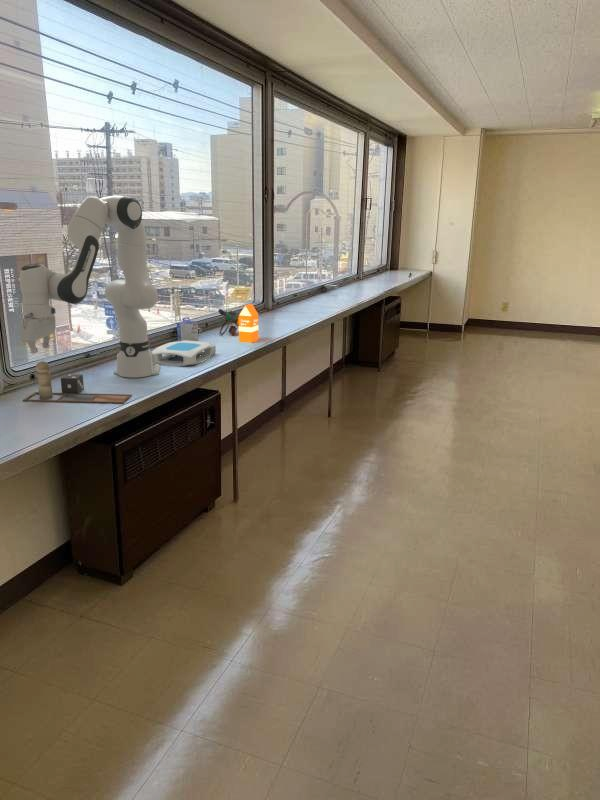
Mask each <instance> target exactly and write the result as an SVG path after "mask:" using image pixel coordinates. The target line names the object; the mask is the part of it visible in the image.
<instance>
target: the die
mask: <svg viewBox="0 0 600 800" xmlns="http://www.w3.org/2000/svg"><path fill="white" fill-rule="evenodd" d="M83 376H84V375H83V374H79V373H78V374H74V373H73V374H70V373H69V374H68V373H66V374H65V375H63V376H62V377H60V385H61V393H81V392H82V390H83V391H84V390H85V388H84V387H85V386H84V377H83Z"/></svg>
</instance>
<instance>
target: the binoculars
mask: <svg viewBox="0 0 600 800" xmlns="http://www.w3.org/2000/svg"><path fill="white" fill-rule="evenodd" d="M217 311H218V313H219V315H221V316H223V317H224V320H225V321H224V322H223V323H222V325H221V328H220V330H219V335H220V334H221V335H222V336H223V335H225V333H226V332H227V331H228V333H229V334H230V335H231V336H233V337H234V336H235V335H236V333H237V331H238V329H239V316H236V315H234V314H233V311H232V310H230V311H224V310H223V309H222V308H219V309H218V310H217ZM226 324H227V326H226V328H225V329H224V331H223V328H224V327H225V325H226ZM232 324H235V325H232ZM221 335H220V336H221Z"/></svg>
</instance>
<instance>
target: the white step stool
mask: <svg viewBox="0 0 600 800" xmlns="http://www.w3.org/2000/svg"><path fill="white" fill-rule="evenodd" d="M151 352H152V353H153V354H154V361H155V364H159V365H160V364H167V365H166V366H171V365H179V366H178V367H187V365H188V366H193V365H194V364H195V365H198V364H197V363H199V362H201V361H203V360H205V359H207V358H209V357H210V358H212V357H211V356H214V354H215V353H216V345H215V344H212V343H211V342H207V341H199V340H198V341H187V340H185V341H178V340H177V341H173V342H167V343H165V344H162V345H160V346H157V347H156V348H155V349H153V350H152V351H151ZM176 355H177V356H178V357H182V359H183V360H182V361H181V360H170V359H172V358H174V357H173V356H175V357H177V356H176ZM196 355H201V356H196ZM171 357H172V358H171ZM169 358H170V359H169ZM210 358H209V359H210ZM167 359H168V360H167ZM207 360H208V359H207ZM205 361H206V360H205ZM203 362H204V361H203ZM201 363H202V362H201ZM199 364H200V363H199Z"/></svg>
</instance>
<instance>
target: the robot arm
mask: <svg viewBox="0 0 600 800" xmlns="http://www.w3.org/2000/svg"><path fill="white" fill-rule="evenodd" d="M142 219H143V210H142V207H141V204H140V202H139V201H138V200H137V198H134V197H132V196H129V195H127V196H126V195H109V196H99V197H97V196H92V195H91V196H87V197H85V198H84V199H83V200H82V202H81V203H80V204H79V206H78V207H77V208H76V211H75V212H74V214H73V215H72V217H71V219H70V221H69V224H68V226H67V229H66V231H67V232H66V233H67V237H68V239H69V240H70V242H71V243H72V244H73V245H74V246H75V247H77V248H78V249H77V250H78V253H77V257H76V259H75V262H74V264H73V268H72V270H71V271H70V272H68V273H62V272H61V273H60V272H57V271H54V270H52V269H50V268H47V267H46V266H45V265H44V264H43V263H30V264H25V265H23V266H22V267H21V268H20V271H19V288H20V292H21V295H22V296H21V297H22V299H21V300H22V301H21V307H22V308H21V309H22V316H23V318H22V319H21V321H20V326H19V327H20V328H19V329H20V331H19V332H20V341H21V342H22V343H27V346H28V347H29V349H30V354H37V353H38V351H39V350H38V347H37V345H36V344H37V342H36V341H38V340H41V339H42V340H43V342H42V343H41V344H42V348H43V349H47V348H50V341H51V335H53V334H55V332H56V328H57V327H56V316H55V314H56V312H57V311H56V307H54V306H52V305H50V300H55V301H59V302H60V301H61V302H65V303H67V304H68V303H69V304H72V305H75V304H79V303H82V302H83V301H84V299H85V298H86V297H87V293H88V291H89V289H88V288H89V281H90V278H91V275H92V271H93V268H94V265H95V263H96V259H97V257H98V254H99V251H100V250H99V249H100V244H99V240H100V237H101V235H102V232H103V230H104V227H105V226H113V227H116V229H117V233H118V234H117V253H116V254H117V256H116V257H117V261H116V262H117V265H118V267H119V269H121V271H122V273H123V276H124V279H115V280H111V281H109V282H108V283H107V285H106V286H105V290H104V295H105V298H106V299H107V301H108V302H109V303H110V305H111V307H112V308H113V310H114V313H115V316H116V318H117V322H118V328H119V337H120V338H119V340H120V341H119V342H118V343H119V344H118V346H119V350H120V351H119V352H118V353H117V354H116V369H115V370H113V374H115V375H118V376H120V377H122V378H123V377H124V378H144V377H149V376H156V375H159V374H160V369H161V365H160V364H157V363H155V361H154V354H153V353H152V351H151V349H150V348H151V346H150V341H151V340H150V338H148V323H147V321H146V319H145V318H144V317H143V316H142V314H141V312H140V310H146V309H147V310H148V309H152V308H154V307H155V305H156V304H157V303H158V300H159V294H158V290H157V289H156V287H155V286H154V285H153V283H152V281H151V280H150V277H149V274H148V266H147V236H146V235H147V234H146V228H145V224H144V222H143V221H142Z"/></svg>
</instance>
